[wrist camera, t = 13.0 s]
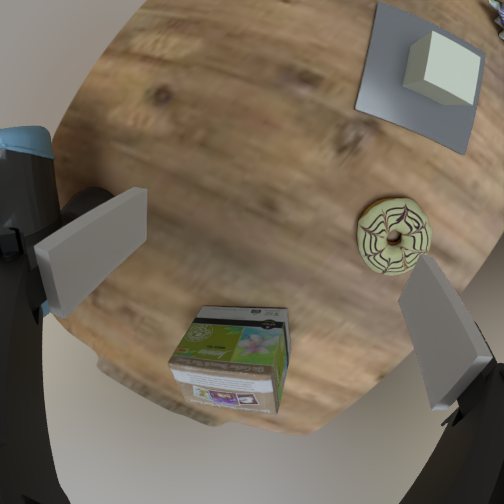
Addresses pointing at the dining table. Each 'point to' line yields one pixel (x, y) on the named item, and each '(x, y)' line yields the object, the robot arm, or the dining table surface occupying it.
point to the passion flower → (500, 20)
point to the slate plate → (403, 99)
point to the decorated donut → (378, 228)
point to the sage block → (442, 70)
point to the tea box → (234, 359)
